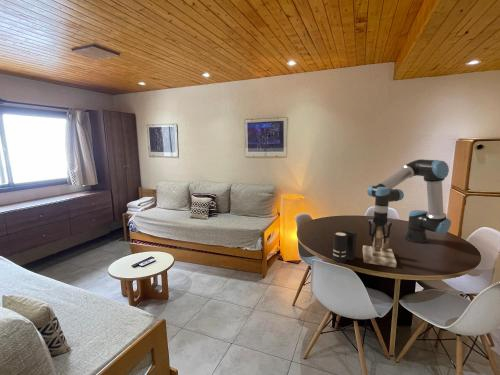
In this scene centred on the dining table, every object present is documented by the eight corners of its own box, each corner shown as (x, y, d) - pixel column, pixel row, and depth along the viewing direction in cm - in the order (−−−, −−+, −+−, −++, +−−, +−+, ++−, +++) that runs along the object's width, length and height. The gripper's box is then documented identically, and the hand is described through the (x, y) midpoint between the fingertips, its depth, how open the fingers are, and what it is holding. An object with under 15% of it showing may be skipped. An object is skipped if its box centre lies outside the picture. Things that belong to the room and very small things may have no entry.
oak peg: (381, 252, 160) (383, 231, 158) (374, 251, 162) (375, 230, 160) (380, 249, 164) (382, 229, 162) (373, 248, 166) (375, 228, 164)
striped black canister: (328, 258, 165) (330, 232, 162) (342, 253, 172) (343, 228, 169) (341, 264, 157) (343, 237, 154) (355, 259, 164) (356, 233, 161)
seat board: (391, 253, 173) (393, 233, 171) (396, 267, 153) (398, 245, 151) (362, 249, 180) (364, 230, 178) (363, 262, 160) (365, 241, 158)
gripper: (395, 211, 159) (392, 246, 163) (365, 209, 165) (363, 242, 169) (397, 214, 152) (393, 251, 156) (366, 211, 159) (363, 246, 163)
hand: (377, 246), depth 163 cm, fingers closed on oak peg, 4 cm apart
